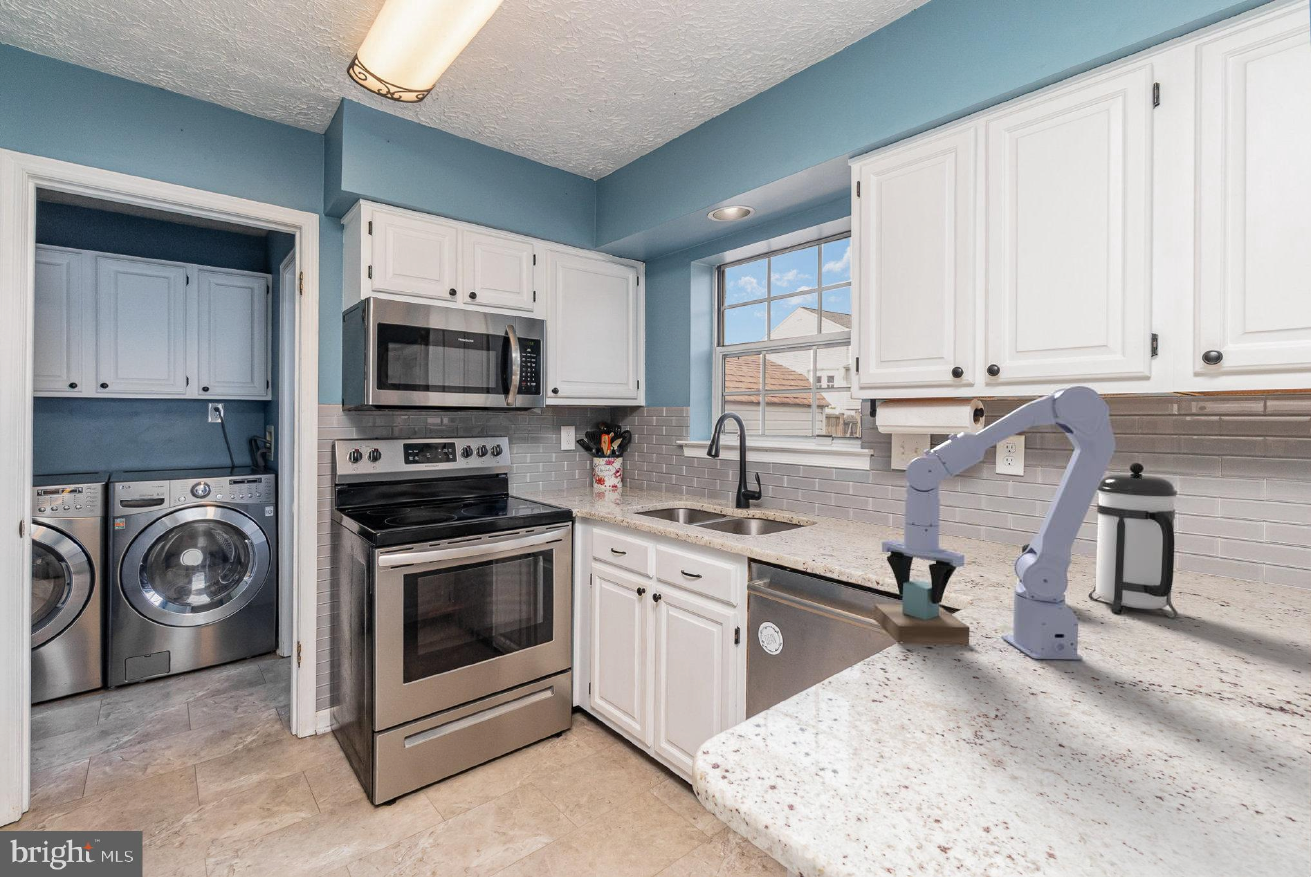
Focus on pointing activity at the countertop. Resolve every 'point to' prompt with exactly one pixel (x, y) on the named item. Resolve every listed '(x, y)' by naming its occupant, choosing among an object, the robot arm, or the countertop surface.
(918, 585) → the teal block
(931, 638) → the walnut box
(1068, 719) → the countertop surface
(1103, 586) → the coffee press
